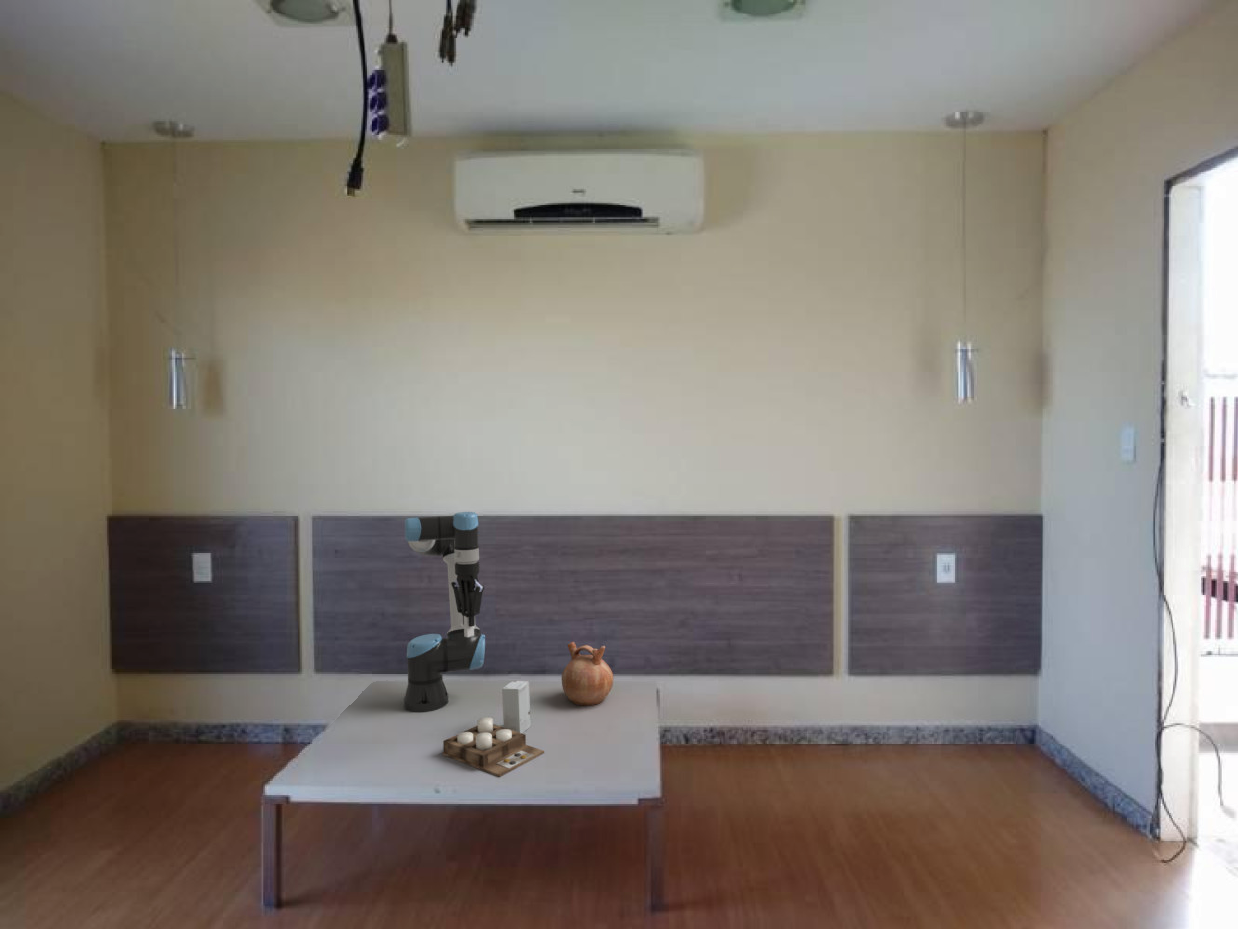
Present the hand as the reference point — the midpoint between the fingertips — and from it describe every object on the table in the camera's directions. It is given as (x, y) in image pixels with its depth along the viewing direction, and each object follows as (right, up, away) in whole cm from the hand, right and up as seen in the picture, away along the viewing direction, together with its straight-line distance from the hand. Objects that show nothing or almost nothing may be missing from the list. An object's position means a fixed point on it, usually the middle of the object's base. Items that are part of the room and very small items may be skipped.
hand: (469, 635), depth 238 cm
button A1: (+2, -30, -14) cm, 33 cm away
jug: (+36, -28, +26) cm, 53 cm away
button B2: (+13, -30, -12) cm, 35 cm away
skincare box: (+15, -30, +1) cm, 34 cm away
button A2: (+6, -28, -8) cm, 30 cm away
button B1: (+8, -29, -19) cm, 35 cm away
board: (+10, -31, -15) cm, 36 cm away
